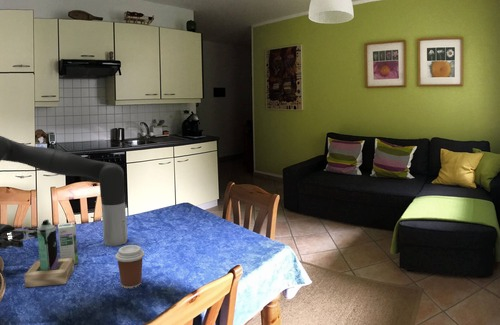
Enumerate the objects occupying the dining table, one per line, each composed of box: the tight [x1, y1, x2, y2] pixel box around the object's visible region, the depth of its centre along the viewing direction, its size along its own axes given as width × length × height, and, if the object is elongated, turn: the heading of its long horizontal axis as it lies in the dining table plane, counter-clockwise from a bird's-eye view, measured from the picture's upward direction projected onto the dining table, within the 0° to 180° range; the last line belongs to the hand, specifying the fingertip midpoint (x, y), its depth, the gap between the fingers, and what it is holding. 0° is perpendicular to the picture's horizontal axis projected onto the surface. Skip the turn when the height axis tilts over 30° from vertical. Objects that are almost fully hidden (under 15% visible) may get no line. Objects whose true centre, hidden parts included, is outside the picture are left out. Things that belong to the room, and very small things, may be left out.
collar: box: [23, 258, 75, 288], centre depth 132 cm, size 12×12×4 cm
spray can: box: [36, 219, 59, 271], centre depth 130 cm, size 6×6×20 cm
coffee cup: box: [114, 244, 145, 289], centre depth 127 cm, size 9×9×12 cm
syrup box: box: [57, 221, 79, 265], centre depth 143 cm, size 6×6×14 cm
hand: (33, 239), depth 132 cm, fingers open, 8 cm apart
